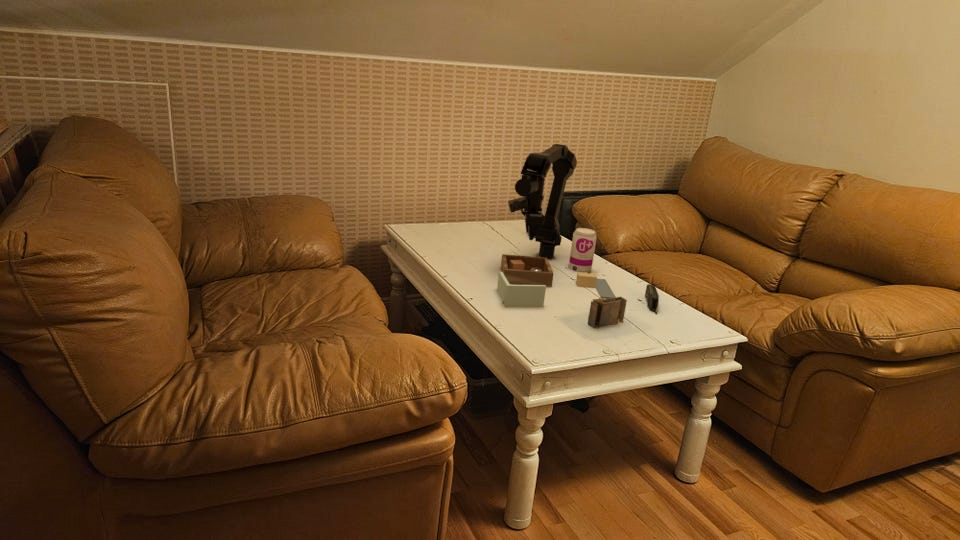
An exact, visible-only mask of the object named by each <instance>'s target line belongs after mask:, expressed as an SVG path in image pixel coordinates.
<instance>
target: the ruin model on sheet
mask: <svg viewBox="0 0 960 540" xmlns="http://www.w3.org/2000/svg"><path fill="white" fill-rule="evenodd" d="M627 302H628V300H627V299H626V298H625V297H622V296H617V297H616V296H615V298H609V299H605V298H592V300H591V301H590V307H589V313H588V319H587V326H589V327H590V328H592V329H595V325H596V324H598V327H599V328H600V327H606V326H611V325H616V324H622V323H623V322H624V318H625V312H626V308H627Z"/></svg>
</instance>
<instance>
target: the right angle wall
mask: <svg viewBox="0 0 960 540" xmlns="http://www.w3.org/2000/svg"><path fill="white" fill-rule="evenodd" d="M497 276H498V277H497V278H498V279H497V286H496V291H497V292H498V294H499V295H500V298H501V299H502V301H501V302H502V304H503V306H504V307H505V308H541V307H543V308H544V306H545V305H544V304H545V297H546V289H547V287H546V285H516V284H509V282H508V280H507V279H506V277H505V275H504V274H503V272H501V270H500V271H499V270H498V275H497Z"/></svg>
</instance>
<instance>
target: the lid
mask: <svg viewBox="0 0 960 540" xmlns="http://www.w3.org/2000/svg"><path fill="white" fill-rule="evenodd" d="M575 284H576V287H579V288H582V287H583V288H591V289H592V288H593V289H595V290H596V292H597V294H598V296H599V299H601V298H605V299H609V298H615V297H616V294H615V293H614V291H613V290H612V289H611V286H610V285H609V283H608V282H607V280H606V279H605V278H598V277H597V274H596V273H587V272H586V273H583V272H576V281H575Z"/></svg>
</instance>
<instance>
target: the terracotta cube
mask: <svg viewBox="0 0 960 540" xmlns="http://www.w3.org/2000/svg"><path fill="white" fill-rule="evenodd" d="M524 265H525V264H524V263H523V262H522V261H521V260H510V263H509V269H515V270H524Z"/></svg>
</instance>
